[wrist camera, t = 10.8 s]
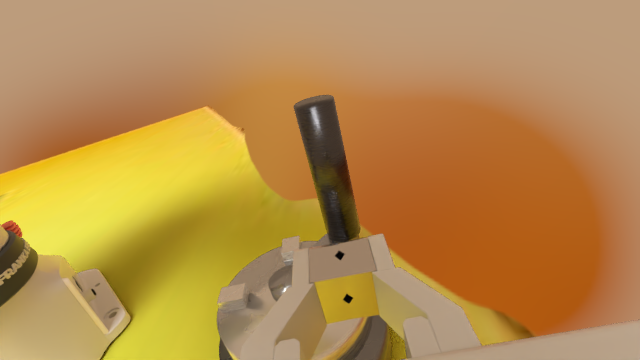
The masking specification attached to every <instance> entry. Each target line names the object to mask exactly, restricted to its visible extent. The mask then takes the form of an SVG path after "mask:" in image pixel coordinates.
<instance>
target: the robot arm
mask: <svg viewBox="0 0 640 360" xmlns="http://www.w3.org/2000/svg"><path fill="white" fill-rule="evenodd" d="M20 237H22V232H21V229H20V228H19V226H18V225H16V223H15V222H13V221H8V222H6V223H4V224H2V225H0V360H100V358H101V357H102V355H103V353H104V352H105V350H106V349H107V347H108V346H109V344H110V343H111V342H112V341H113V340H114V339H115V338H116V337H117V336H118V335H119V334H120V333H121V332H122V331H123V329H124V328H125V327H126V326H127V325H128V323H129V322H130V319H131V318H130V315H129V314H128V312H127V310H126V309H125V307H124V306H123V304H122V303H121V301H120V300H119V298H118V297H117V295H116V294H115V292H114V291H113V289H112V288H111V286H110V285H109V283H108V282H107V280H106V279H105V277H104V276H103V274H102V273H101V272H100V271H99V270H98V269H90V270H86V271H82V272H79V273H76V272H75V271H74V269H73V268H72V267H71V266H70V264H69V263H68V262H67V261H66V260H65V258H64V257H62V256H58V255H38V254H37V252H36V251H35V250H34V249H32V248H31V247H30V245H29V244H28V243H27V242H26V241H25V240H24V239H23V238H20ZM375 315H380V317H381V318H382V319H383V320H384V321H385V322H386V323H387V324H388V325H389V326H390V327H391V328H392V329H393V330H394V331H395V332H396V333H397V334H398V335H399V336H400V337H401V338H402V339H403V340H404V341H405V348H406V356H407V359H402V360H640V319H638V320H633V321H627V322H621V323H615V324H609V325H603V326H597V327H591V328H585V329H579V330H573V331H567V332H562V333H556V334H550V335H544V336H538V337H532V338H526V339H520V340H514V341H508V342H502V343H496V344H490V345H484V346H482V345H481V343H480V341H479V339H478V338H477V336H476V334H475V332H474V330H473V328H472V326H471V324H470V322H469V320H468V318H467V316H466V315H465V313H464V311H463V309H462V308H461V307H460V306H458V305H457V304H455V303H454V302H452V301H451V300H449V299H448V298H446V297H445V296H443V295H442V294H440V293H438V292H437V291H435V290H434V289H432V288H431V287H429V286H428V285H426V284H425V283H423V282H422V281H420V280H419V279H417V278H416V277H414V276H413V275H411V274H410V273H408V272H407V271H405V270H403V269H402V268H400V267H397V268H395V266H394V263H393V260H392V257H391V254H390V252H389V249H388V246H387V243H386V240H385V237H384V235H383V234H377V235H373V236H368V238H367V237H365V238H360V239H355V240H350V241H345V242H340V243H334V244H328V245H322V246H316V247H310V248H305V249H300V250H294V253H293V269H292V287H290V288H287V289H286V290H285V292H284V293H283V294H282V296H281V297H280V298H279V299H278V301H277V302H276V303H275V305H274V306H273V307H272V308H271V310H270V311H269V312H268V314H267V315H266V316H265V317H264V319H263V320H262V321H261V323H260V324H259V325H258V326H257V328H256V329H255V330H254V332H253V333H252V334H251V336H250V337H249V338H248V339H247V341H246V342H245V343H244V345H243V346H242V350H241V355H240V360H311V358H312V356H313V354H314V352H315V350H316V348H317V345H318V343H319V341H320V339H321V337H322V335H323V333H324V331H325V329H326V327H327V325H326V324H330V323H335V322H340V321H345V320H349V319H355V318H361V317H368V316H375Z"/></svg>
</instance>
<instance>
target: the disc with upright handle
mask: <svg viewBox="0 0 640 360" xmlns="http://www.w3.org/2000/svg"><path fill="white" fill-rule="evenodd" d="M294 109H295V113H296V117H297V121H298V125H299V129H300V132H301V136H302V140H303V143H304V147H305V151H306V155H307V159H308V163H309V166H310V170H311V174H312V177H313V181H314V185H315V189H316V193H317V196H318V200H319V204H320V208H321V212H322V215H323V219H324V223H325V227H326V230H327V234H326V235H325V236H323V237H322V238H321V239H320V240H319V241H304V242H301V240H300V236H295V237H291V238H286V239H283V240H282V246H281V247H278V248H276V249H273V250H271V251H269V252H267V253H265V254H263V255H261V256H260V257H258V258H256V259H255V260H253V261H252V262H251V263H249V264H248V265H247V266H246V267H245V268H243V269H242V270H241V271H240V272H239V273H238V274H237V275H236V276H235V278H234V279H233V280H232V281H231V283H230V284H229V286H228V287H223V288H222V289H221V292H220V295H219V299H218V302H217V304H218V306H219V308H218V312H217V326H218V331H219V335H220V337H221V339H222V341H223V343H224V345H225V346H226V348H227V350H228V352H229V354H230V355H231V357H232V359H233V360H240V355H241V350H242V346H243V345H244V343H245V342H246V341H247V339H248V338H249V337H250V336H251V334H252V333H253V332H254V330H255V329H256V328H257V326H258V325H259V324H260V323H261V321H262V320H263V319H264V317H265V316H266V315H267V314H268V312H269V311H270V310H271V308H272V307H273V306H274V305H275V303H276V302H277V301H278V299H279V298H280V297H281V296H282V294H283V293H284V292H285V290H286V289H287V288H290V287H292V269H293V253H294V250H300V249H305V248H310V247H316V246H322V245H328V244H334V243H340V242H345V241H350V240H355V239H359V235H358V234H359V232H360V224H359V219H358V214H357V209H356V205H355V200H354V195H353V190H352V185H351V180H350V175H349V170H348V165H347V160H346V156H345V151H344V146H343V141H342V136H341V131H340V126H339V121H338V116H337V112H336V106H335V102H334V97H333V96H331V95H321V96H315V97H311V98H307V99H304V100H302V101H300V102H298V103H296V104H295V105H294ZM372 320H373V316H368V317H361V318H355V319H349V320H345V321H340V322H335V323H330V324H326V325H327V327H326V329H325V331H324V333H323V335H322V337H321V339H320V341H319V343H318V345H317V348H316V350H315V352H314V354H313V356H312V358H311V360H354V359H355V358H356V357H357V356H358V354H359V353H360V351H361V350H362V348H363V347H364V345H365V343H366V341H367V338H368V336H369V333H370V330H371V325H372Z"/></svg>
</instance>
